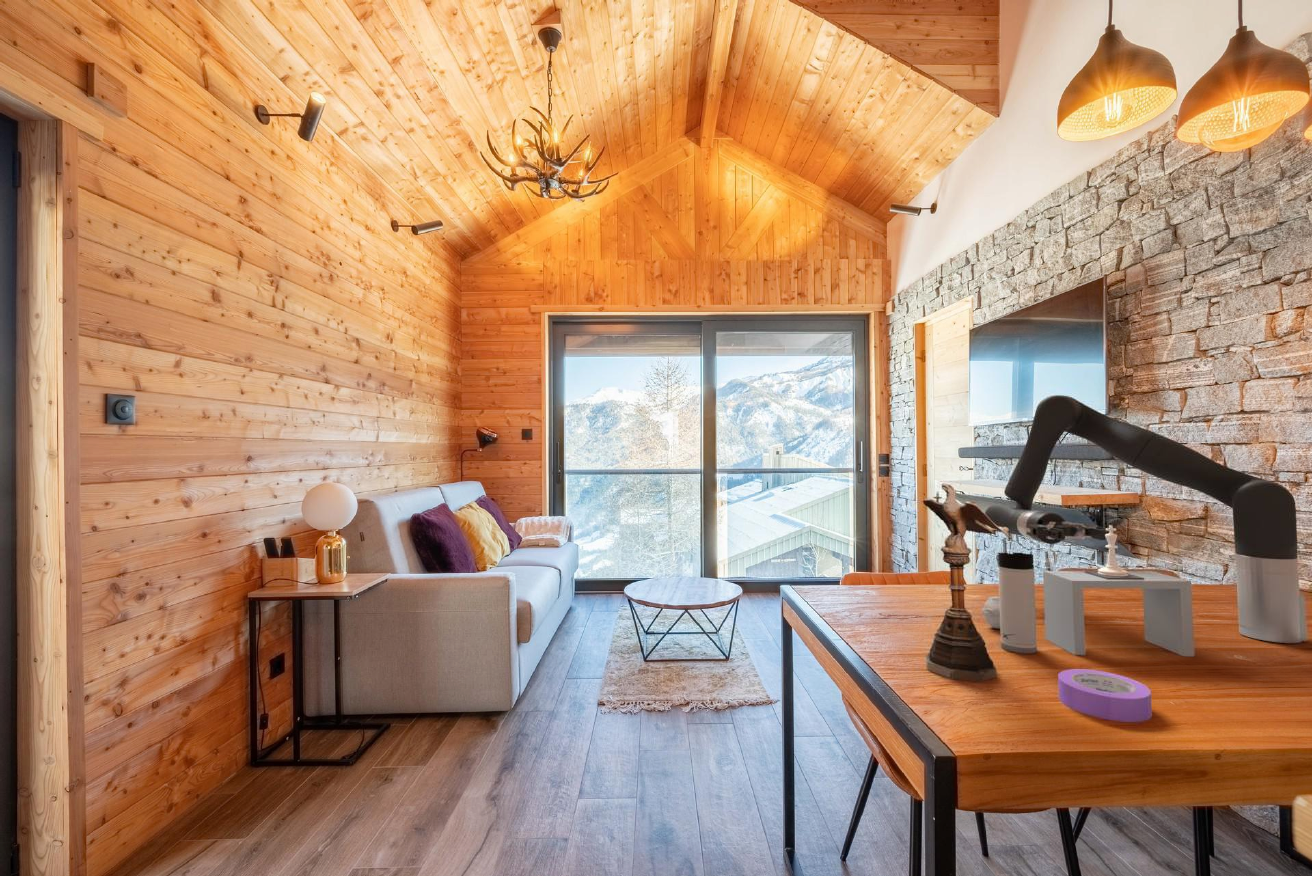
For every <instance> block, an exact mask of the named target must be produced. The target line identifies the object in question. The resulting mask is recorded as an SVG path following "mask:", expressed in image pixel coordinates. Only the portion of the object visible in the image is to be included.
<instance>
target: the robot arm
mask: <svg viewBox="0 0 1312 876" xmlns="http://www.w3.org/2000/svg"><path fill="white" fill-rule="evenodd" d="M1064 433H1068V434H1071V435H1073V436H1076V437H1079V438H1082V439H1085V440H1086V441H1088V442H1091V443H1093V444H1095V445H1097V446H1098V447H1099V448H1101V449H1103V451H1106V452H1107V453H1108V454H1109V455H1111V456H1113V457H1115V458H1117V460H1120V461H1121V462H1122V463H1124V464H1127V465H1129V466H1130V467H1133V468H1134V469H1137V470H1139V471H1142V472H1144V473H1146V474H1148V475H1150V476H1152V477H1155V478H1158V479H1160V480H1163V481H1166V482H1169V483H1173V484H1174V485H1179V486H1182V487H1185V488H1188V489H1192V490H1194V491H1196V492H1197V491H1198V492H1200V493H1202V494H1205V495H1206V496H1209V497H1211V498H1212V499H1214V500H1216V501H1218V502H1220V503H1222V504H1224V505H1225V506H1228V507H1229V508H1231V509H1232V517H1233V518H1232V519H1233V520H1232V521H1233V540H1234V549H1235V550H1234V552H1235V553H1234V555H1235V572H1236V593H1237V594H1236V595H1237V613H1238V614H1237V616H1238V631H1239V632H1238V633H1239V634H1241V635H1242V636H1245V637H1247V638H1248V637H1249V638H1251V639H1255V640H1262V641H1266V642H1273V643H1281V644H1282V643H1284V644H1299V643H1302V642H1308V632H1307V631H1308V629H1307V628H1308V627H1307V614H1306V613H1307V612H1306V597H1305V594H1302V593H1300V578H1299V563H1298V561H1299V560H1298V558H1299V557H1298V533H1297V531H1298V529H1297V528H1298V527H1297V526H1298V525H1297V524H1298V523H1297V506H1296V501H1295V497H1294V495H1293V494H1292V493H1291V492H1290V490H1288V489H1287V488H1286V487H1285V486H1284V485H1282V484H1279V483H1278V482H1274V481H1273V480H1272V481H1271V480H1267V479H1263V478H1260V477H1258V476H1257V477H1256V476H1253V475H1251V474H1248V473H1245V472H1242V471H1240V470H1239V471H1238V470H1237V469H1233V468H1231V467H1228V466H1225V465H1223V464H1221V463H1218V462H1217V461H1215V460H1213V459H1211V458H1209V457H1207V456H1205V455H1204V454H1201V452H1199V451H1196V450H1194V449H1192V448H1190V447H1188V446H1186V445H1184V444H1182V443H1180V442H1178V441H1177V440H1174V439H1171V438H1168V437H1166V436H1164V435H1161V434H1159V433H1157V432H1155V431H1152V430H1148V429H1146V428H1144V427H1141V426H1138V425H1135V424H1132V423H1129V422H1126V421H1122V420H1119V419H1116V418H1113V417H1110V416H1107V415H1105V414H1103V413H1101V412H1099V411H1098V410H1096V409H1094V408H1092V407H1090V406H1088V405H1086V404H1084V402H1081V401H1079V400H1077V399H1075V398H1074V397H1072V396H1068V395H1064V394H1063V395H1060V394H1058V395H1057V394H1056V395H1055V394H1054V395H1049V396H1047V397H1044V398H1043V399H1042V400H1041V401H1040V402H1039V403H1038V404H1037V406H1036V409H1035V413H1034V416H1033V421H1032V423H1031V427H1030V432H1029V434H1028V437H1027V441H1026V443H1025V445H1024V448H1023V451H1022V452H1021V455H1020V457H1019V459H1018V461H1017V462H1016V465H1015V467H1014V470H1013V471H1012V473H1011V475H1010V478H1009V480H1008V481H1007V484H1006V486H1005V488H1004V496H1006V497H1007V498H1008V499H1010V500H1012V501H1013V502H1015V503H1016V504H1015V505H1016V506H1015V507H1013V506H1009V505H1006V504H1005V505H1004V504H1001V503H994V504H991V505H990V506H988V507H987V509H986V510H985V511H984V513H985V514H986V515H987V516H988V518H989V519H990V520H991V521H992V522H993V523H994V524H996V525H997V526H999V527H1007V528H1008V529H1009V531H1008V533H1007V534H1010V535H1011V534H1012V535H1015V536H1020V537H1024V538H1027V539H1029V540H1033V541H1036V542H1040V543H1043V544H1047V545H1057V544H1059V543H1061V542H1062V541H1065V540H1070V539H1074V540H1075V539H1076V540H1085V539H1087V538H1088V539H1093V540H1099V541H1106V540H1107V539H1106V537H1105V535H1106V534H1107V531H1106V529H1105V530H1104V529H1103V526H1099V525H1093V524H1092V525H1091V524H1086V523H1074V522H1073V523H1072V522H1070V521H1066V520H1065V519H1064V517H1062V516H1061V515H1059V514H1058V513H1055V512H1049V511H1043V510H1042V511H1041V510H1036V509H1035V510H1032V508H1033V503H1034V498H1036V497H1035V496H1036V494H1037V493H1038V490H1039V489H1040V486H1041V484H1042V482H1043V480H1044V478H1045V475H1046V473H1047V467H1048V464H1049V461H1050V458H1051V455H1052V453H1053V450H1054V448H1055V446H1056V445H1057V443H1058V442H1059V440H1060V438H1061V437H1062V436H1063V434H1064ZM1077 533H1078V535H1077Z"/></svg>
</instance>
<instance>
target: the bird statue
mask: <svg viewBox="0 0 1312 876" xmlns="http://www.w3.org/2000/svg"><path fill="white" fill-rule="evenodd" d="M941 490H943V491H944V492H945V494H946V498H945V500H944V502H940V501H939V500H940V499H942V498H943V497H942V496H940V494H939V493H940V492H939V491H936V495H935V496H933V497H932V498H933V499H932V498H925V499H923V500H922V504H923V505H924V506H925V507H927V508H928V509H929V510H930V511H932V512H933V513H934V514H935V515H936V516H937V517H938V518H939V520H941V521H943V523H944V525H945V527H946V528H947V530H948V531H950V534H949V535H947V537H946V538H945V540H944V545H945V546H941V548H940V551H941V552H942V553H943V556H942V557H943V558H942V561H943V562H945V563H946V564H948V565H949V566H948V567H949V569H950V571H949V572H950V573H949V574H950V575H949V576H950V584H949V585H948V588H949V589H950V592H951V594H950V595H951V606H949V608H947V609H946V611H945V612H944V617H943V620H942V622H941V623H940V626H939V628H938V629H936V633H935V634H933V636H934V639H933V643H931V647H930V649H929V653H925V658H924V659H925V665H926V669H927V671H930V672H933V673H935V674H937V675H941V676H943V677H946V678H948V679H951V680H961V681H969V682H983V681H987V680H991V679H992V680H993V679H995V678H997V668H996V665H994V661H993V659H992V658H991V657H990V655H989V653H988V650H987V647H986V641H985V640H984V638H983V636H982V635H981V632H979V631H978V630H977V628H976V625H975V624H974V622H973V619H972V618H973V615H972V614H971V613H970V611H969V610H967V609H966V606H965V591H966V590H967V588H966V586H965V581H964V569H965V567H964V566H965V565H967V564H969V563H971V560H970V559H971V558H970V554H971V553H972V549H971V548H969V547H968V544H967V542H966V540H965V538H964V537H965V535H966V532H969V533H970V532H972V533H978V534H981V533H982V534H992V535H996V533H997V532H1000V533H1003V534H1004V536H1006V537H1007V538H1009V540H1012V537H1011V536H1010V535H1009V533H1008V531H1009V529H1008V528H1007V527H999V526H997V525H996V524H994V523H993V522H992V521H991V520H990V519H989V518H988V516H987V515H986V514H985V511H983V509H982V508H981V507H980V506H979V505H978V504H977V503H976V502H975V501H974V502H973V501H970V500H969V501H965V502H964V504H963V503H962V504H961V503H959V502H958V501H957V497H956V493H957V492H956V490H955V489H954V487H953V486H952V484H951V485H950V484H947V483H942V484H941ZM934 499H935V500H934Z"/></svg>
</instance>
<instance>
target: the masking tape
mask: <svg viewBox="0 0 1312 876" xmlns="http://www.w3.org/2000/svg"><path fill="white" fill-rule="evenodd" d="M1057 679H1058V681H1057V683H1058V684H1057V686H1058V700H1059V701H1060V703H1062V704H1063V705H1064V706H1066V707H1068V708H1070V709H1072V710H1074V711H1075V712H1079V713H1080V714H1081V713H1082V714H1085V715H1088V716H1091V717H1095V718H1097V719H1103V720H1108V721H1115V722H1124V723H1141V722H1146V721H1148V720H1150V719H1152V717H1153V709H1152V707H1153V706H1152V691H1151V689H1150V687H1147V685H1145V684H1144V683H1142V682H1140V681H1137V680H1135V679H1132V678H1130V677H1126V676H1125V675H1120V674H1116V673H1112V672H1108V671H1102V670H1095V669H1086V668H1085V669H1084V668H1082V669H1081V668H1080V669H1079V668H1074V669H1066V670H1062V671H1061V672H1059V673H1058V675H1057Z"/></svg>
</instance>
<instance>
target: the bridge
mask: <svg viewBox="0 0 1312 876" xmlns="http://www.w3.org/2000/svg"><path fill="white" fill-rule="evenodd" d="M1084 571H1085V570H1043V571H1042V577H1043V603H1044V604H1043V607H1044V610H1043V611H1044V632H1045V633H1044V634H1045V635H1044V636H1045V640H1046V641H1049V642H1050V643H1051V644H1052V643H1053V644H1054V645H1055V646H1057V647H1060V648H1061V649H1063V650H1065V651H1067V652H1068V653H1071V654H1072V655H1075V656H1086V632H1085V629H1086V628H1085V606H1084V590H1085V589H1087V590H1088V589H1094V590H1095V589H1097V590H1098V589H1100V590H1101V589H1103V590H1105V589H1107V590H1108V589H1112V590H1116V589H1118V590H1119V589H1120V590H1123V589H1124V590H1126V589H1127V590H1130V589H1131V590H1133V589H1134V590H1135V589H1136V590H1137V589H1138V590H1142V599H1143V600H1142V601H1143V621H1144V623H1143V626H1144V641H1146V642H1148V643H1151V644H1153V645H1156V646H1158V647H1160V648H1163V649H1165V650H1167V651H1170V652H1172V653H1175V654H1177V655H1179V656H1182V657H1195V639H1194V637H1195V636H1194V618H1193V617H1194V615H1193V613H1194V612H1193V597H1192V596H1193V595H1192V594H1193V593H1192V590H1193V589H1192V581H1190V580H1187V579H1184V578H1180V577H1176V576H1173V575H1172V576H1171V575H1168V574H1165V573H1160V572H1156V571H1153V570H1152V571H1150V570H1148V571H1147V570H1133V571H1130V570H1129V571H1127V570H1126V571H1127V572H1128V574H1132V575H1135V576H1139V577H1142V578H1144V580H1139V579H1104V578H1101V577H1097V576H1094V575H1091V574H1088V573H1084Z"/></svg>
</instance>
